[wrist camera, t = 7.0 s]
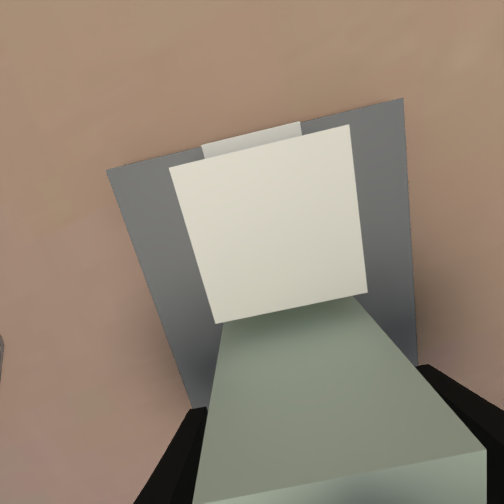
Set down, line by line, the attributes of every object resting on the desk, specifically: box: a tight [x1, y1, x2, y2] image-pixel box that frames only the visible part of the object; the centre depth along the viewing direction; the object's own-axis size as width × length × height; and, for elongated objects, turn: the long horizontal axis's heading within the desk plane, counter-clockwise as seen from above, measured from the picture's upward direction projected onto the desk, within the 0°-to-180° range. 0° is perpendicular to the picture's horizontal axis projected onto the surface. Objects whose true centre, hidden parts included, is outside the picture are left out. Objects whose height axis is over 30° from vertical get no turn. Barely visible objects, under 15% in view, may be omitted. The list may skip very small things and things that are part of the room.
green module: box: [192, 296, 487, 504], centre depth 8 cm, size 7×4×7 cm, turn 14°
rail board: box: [106, 98, 418, 410], centre depth 11 cm, size 19×11×5 cm, turn 13°
